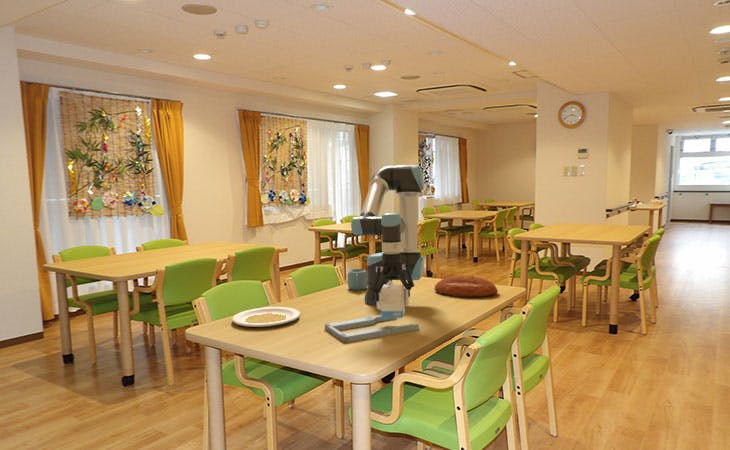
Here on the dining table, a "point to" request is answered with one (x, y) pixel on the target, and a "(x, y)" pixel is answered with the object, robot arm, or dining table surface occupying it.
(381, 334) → the dock
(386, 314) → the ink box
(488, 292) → the bread
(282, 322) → the plate
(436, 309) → the dining table surface
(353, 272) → the mug
